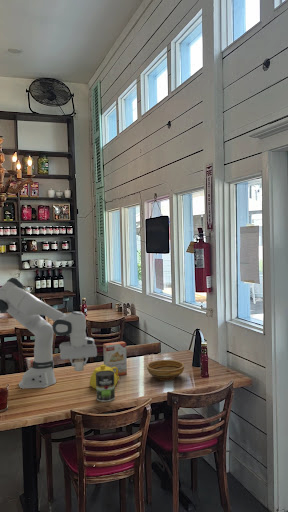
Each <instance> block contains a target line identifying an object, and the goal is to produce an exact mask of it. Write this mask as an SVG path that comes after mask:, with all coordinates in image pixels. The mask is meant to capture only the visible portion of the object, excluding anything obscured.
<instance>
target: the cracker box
mask: <svg viewBox="0 0 288 512" xmlns="http://www.w3.org/2000/svg"><path fill="white" fill-rule="evenodd" d="M102 345H103V348H102V349H103V365H106V366H108V367H111V368H112V367H116V368H118V375H117V376H119V377H120V376H124V375H125V376H126V375H127V374H128V368H127V365H128V364H127V363H128V362H127V360H128V359H127V343H126V342H125V341H116V342H108V343H103V344H102ZM113 371H114V372H115V374H116V369H113Z"/></svg>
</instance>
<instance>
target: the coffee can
mask: <svg viewBox="0 0 288 512" xmlns="http://www.w3.org/2000/svg"><path fill="white" fill-rule="evenodd" d="M115 389H116V386H115V387H114V372H113V371H99V372H97V373H96V389H95V390H96V401H97V402H103V403H104V402H111V401H114V400H115V399H116V395H115Z"/></svg>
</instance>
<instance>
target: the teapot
mask: <svg viewBox="0 0 288 512" xmlns="http://www.w3.org/2000/svg"><path fill="white" fill-rule="evenodd" d="M113 369H116V374H115V372H114V371H113ZM99 371H113V372H114V387H115V388H116V386H117V384H118V381H119V380H120V376H117V375H118V368H116V367H112V368H111V367H108V366H106V365H104V364H100V365H99V366H97V367H95V368H94V370H93V372H91V375H90V378H89V385H90V387H92V389H94V390H96V373H97V372H99Z"/></svg>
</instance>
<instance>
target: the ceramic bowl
mask: <svg viewBox="0 0 288 512" xmlns="http://www.w3.org/2000/svg"><path fill="white" fill-rule="evenodd" d="M185 366H186V364H185V363H184V362H182V361H180V360H173V359H158V360H154V361H150V362H148V363H147V364H146V365H145V367H146V370H147V372H148V374H150V376H153V377H154V378H156V379H157V378H158V380H159V379H160V381H171V380H174V379H176V377H178V376H180V375H182V373H183V372H184V370H185Z"/></svg>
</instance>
